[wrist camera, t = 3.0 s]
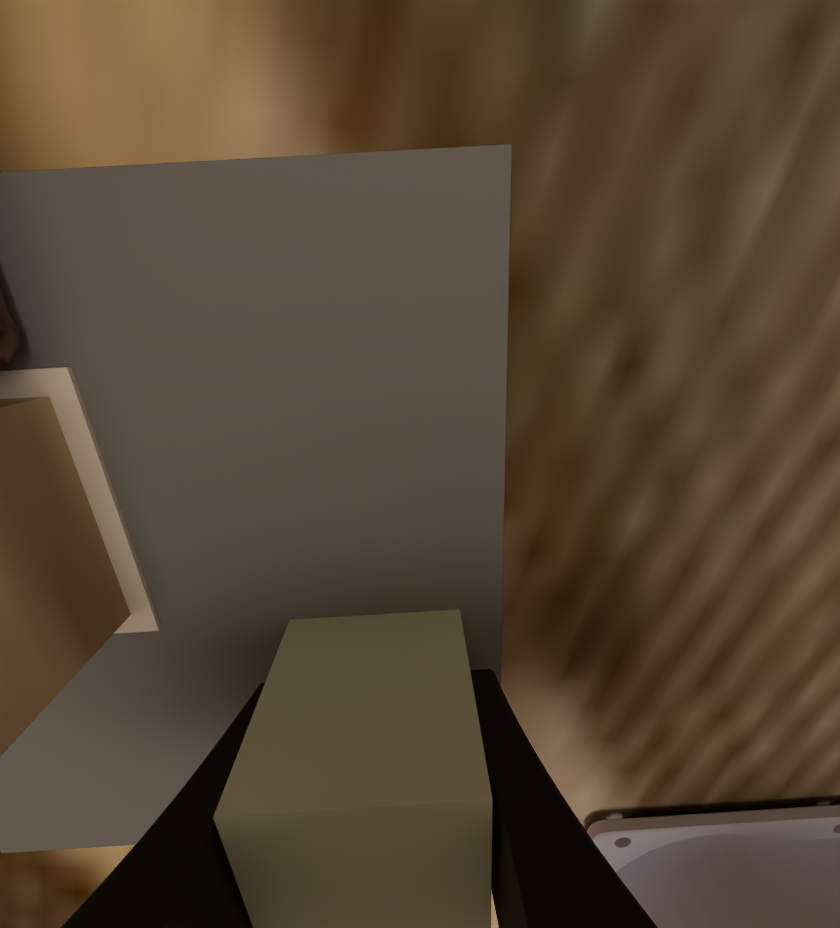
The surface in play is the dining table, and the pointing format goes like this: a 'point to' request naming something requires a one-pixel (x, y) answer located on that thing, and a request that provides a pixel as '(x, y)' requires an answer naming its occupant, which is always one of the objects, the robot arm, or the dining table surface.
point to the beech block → (46, 567)
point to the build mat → (253, 434)
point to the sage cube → (363, 780)
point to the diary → (8, 333)
